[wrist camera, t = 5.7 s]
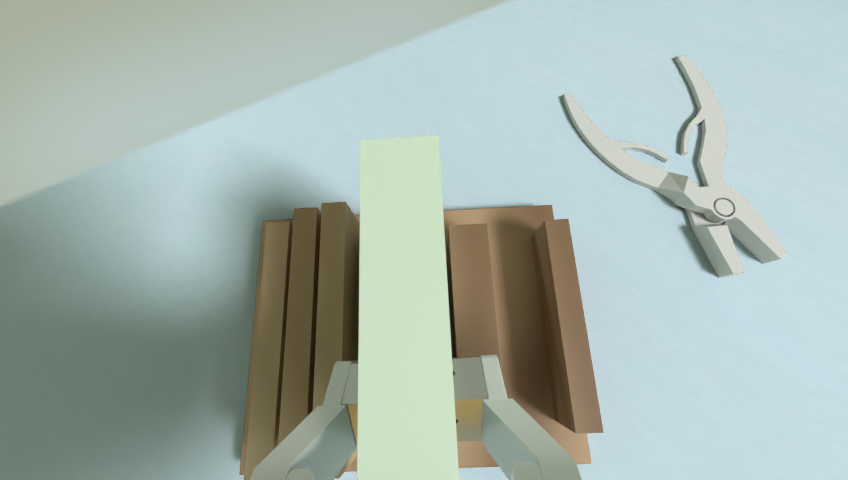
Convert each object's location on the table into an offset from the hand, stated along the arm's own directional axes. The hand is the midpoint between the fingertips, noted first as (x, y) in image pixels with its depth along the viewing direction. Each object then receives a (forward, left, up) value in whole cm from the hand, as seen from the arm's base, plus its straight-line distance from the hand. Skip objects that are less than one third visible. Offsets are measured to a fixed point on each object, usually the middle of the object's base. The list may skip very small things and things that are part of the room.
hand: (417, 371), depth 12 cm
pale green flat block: (0, +2, -9) cm, 9 cm away
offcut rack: (-1, +2, -10) cm, 10 cm away
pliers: (+17, +12, -11) cm, 23 cm away
